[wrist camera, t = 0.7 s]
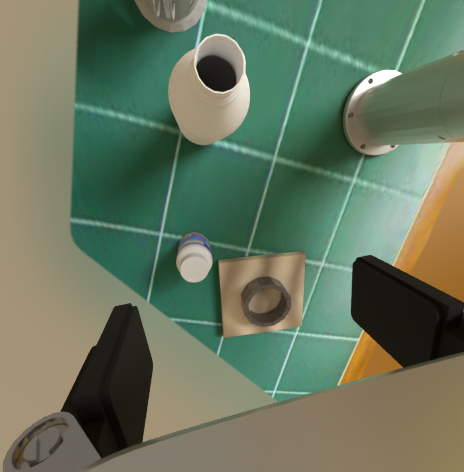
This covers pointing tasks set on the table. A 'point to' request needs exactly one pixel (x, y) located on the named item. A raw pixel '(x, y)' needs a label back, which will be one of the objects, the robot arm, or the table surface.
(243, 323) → the stand plate
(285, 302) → the collar
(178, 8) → the french press
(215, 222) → the table surface
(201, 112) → the water bottle
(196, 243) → the pill bottle
